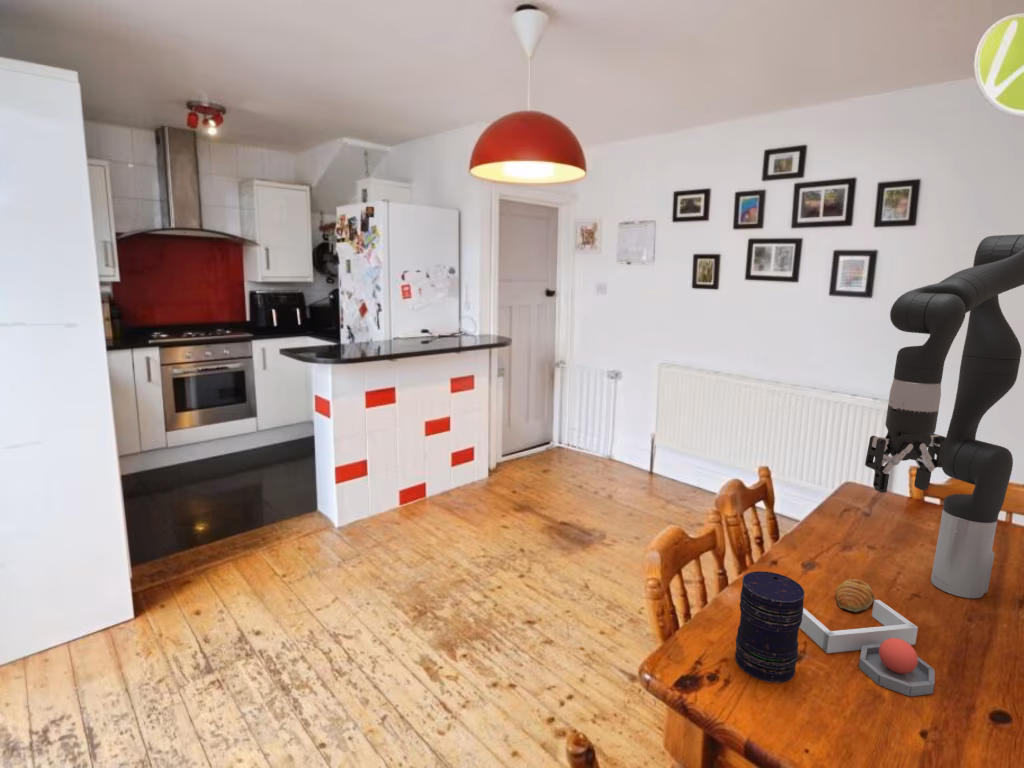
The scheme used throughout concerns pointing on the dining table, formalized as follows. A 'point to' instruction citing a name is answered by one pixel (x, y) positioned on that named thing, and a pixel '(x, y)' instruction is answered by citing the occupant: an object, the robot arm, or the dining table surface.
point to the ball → (898, 655)
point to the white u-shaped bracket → (860, 631)
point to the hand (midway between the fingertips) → (900, 490)
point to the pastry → (854, 595)
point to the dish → (897, 674)
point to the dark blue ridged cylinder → (769, 626)
